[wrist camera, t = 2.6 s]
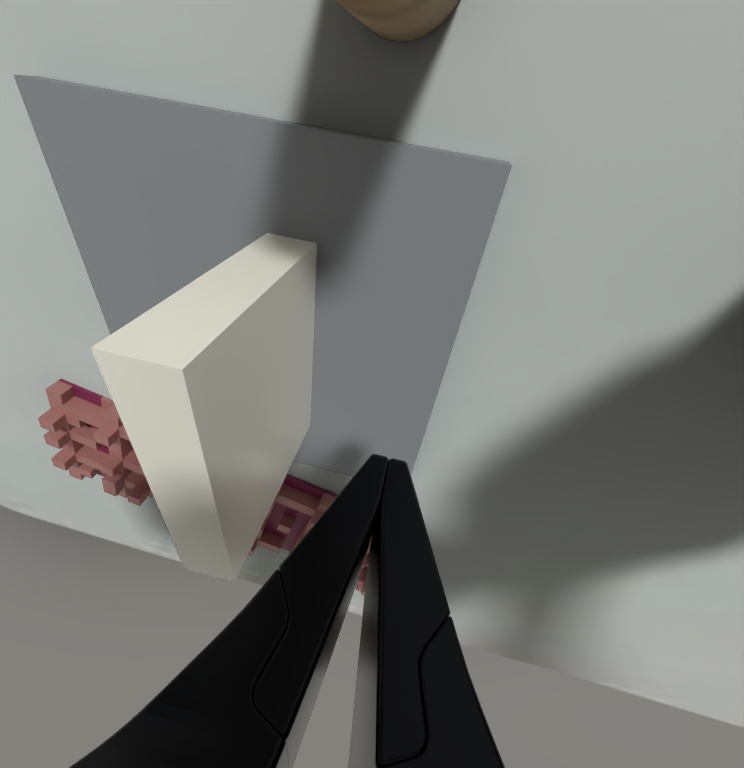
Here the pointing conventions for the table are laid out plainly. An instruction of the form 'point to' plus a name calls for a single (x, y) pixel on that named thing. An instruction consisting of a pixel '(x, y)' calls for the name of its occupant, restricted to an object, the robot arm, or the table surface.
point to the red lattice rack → (126, 478)
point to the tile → (220, 396)
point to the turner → (400, 16)
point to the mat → (285, 218)
